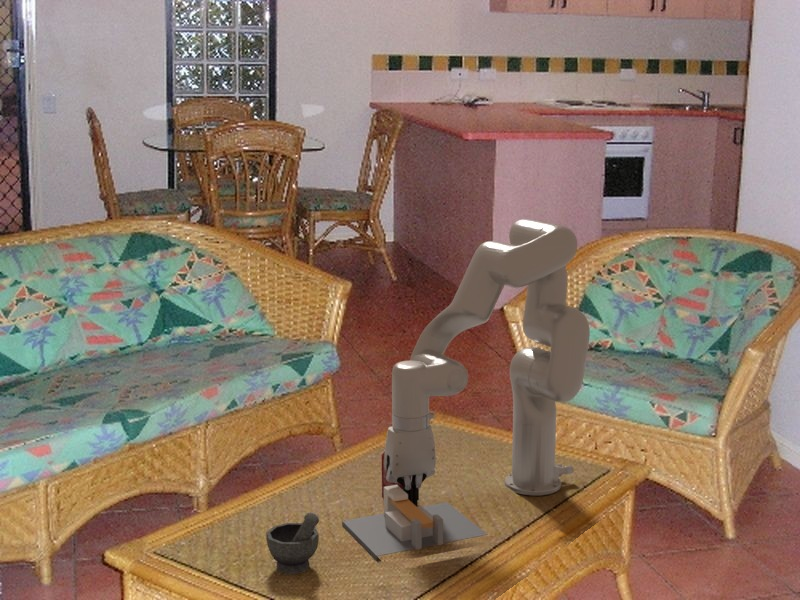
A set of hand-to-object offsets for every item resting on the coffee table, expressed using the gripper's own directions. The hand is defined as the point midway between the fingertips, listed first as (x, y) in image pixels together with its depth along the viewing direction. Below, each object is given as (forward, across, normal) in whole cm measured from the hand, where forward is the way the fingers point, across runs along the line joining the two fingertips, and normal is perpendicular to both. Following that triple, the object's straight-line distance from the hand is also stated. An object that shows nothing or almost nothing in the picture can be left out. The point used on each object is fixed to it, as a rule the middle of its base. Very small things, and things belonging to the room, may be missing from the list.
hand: (410, 504), depth 241 cm
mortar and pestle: (+3, +30, +12) cm, 32 cm away
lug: (+2, +4, +2) cm, 5 cm away
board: (+3, +3, +8) cm, 8 cm away
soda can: (+3, -1, -10) cm, 10 cm away
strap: (-2, +4, +8) cm, 10 cm away
